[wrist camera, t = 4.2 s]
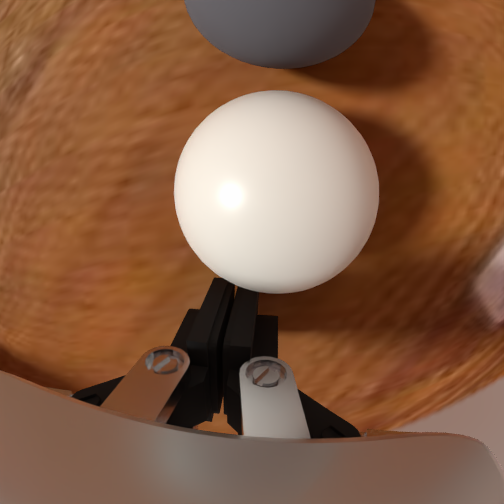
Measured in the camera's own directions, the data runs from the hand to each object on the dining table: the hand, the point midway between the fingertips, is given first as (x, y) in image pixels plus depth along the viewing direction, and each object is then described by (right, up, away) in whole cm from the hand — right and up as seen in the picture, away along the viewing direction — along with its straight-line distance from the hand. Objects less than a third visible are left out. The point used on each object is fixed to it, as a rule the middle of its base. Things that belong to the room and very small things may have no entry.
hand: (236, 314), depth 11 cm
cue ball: (+1, +4, -3) cm, 5 cm away
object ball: (+1, +10, -5) cm, 11 cm away
